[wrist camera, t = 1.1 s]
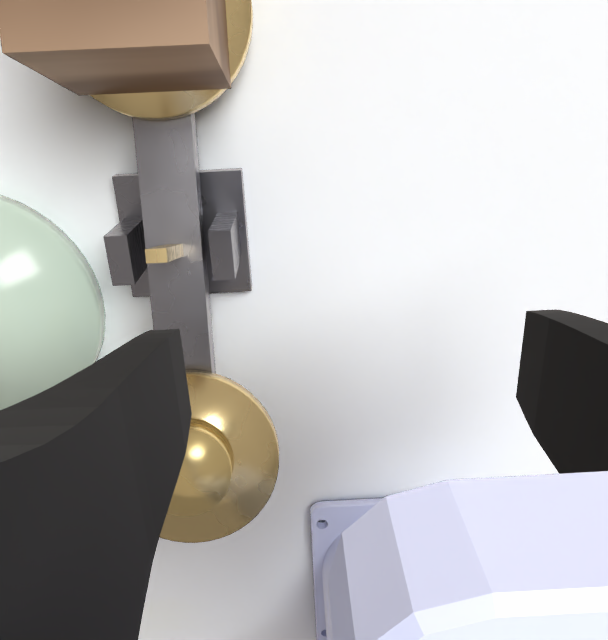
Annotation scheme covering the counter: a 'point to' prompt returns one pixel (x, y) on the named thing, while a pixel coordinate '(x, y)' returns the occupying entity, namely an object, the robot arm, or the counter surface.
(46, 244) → the dish
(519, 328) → the counter surface
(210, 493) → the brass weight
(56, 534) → the robot arm
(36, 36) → the walnut block
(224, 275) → the balance stand
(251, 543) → the counter surface
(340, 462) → the counter surface
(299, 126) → the counter surface
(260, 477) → the balance beam
